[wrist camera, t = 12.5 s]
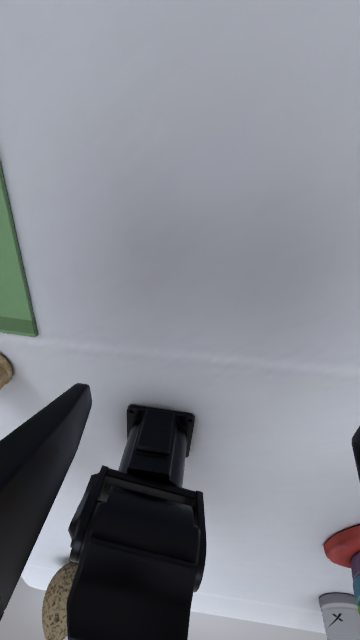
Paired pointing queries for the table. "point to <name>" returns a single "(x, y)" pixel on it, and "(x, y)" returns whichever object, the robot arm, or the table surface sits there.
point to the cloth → (12, 277)
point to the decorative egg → (57, 603)
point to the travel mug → (340, 616)
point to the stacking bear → (347, 555)
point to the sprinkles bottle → (4, 371)
